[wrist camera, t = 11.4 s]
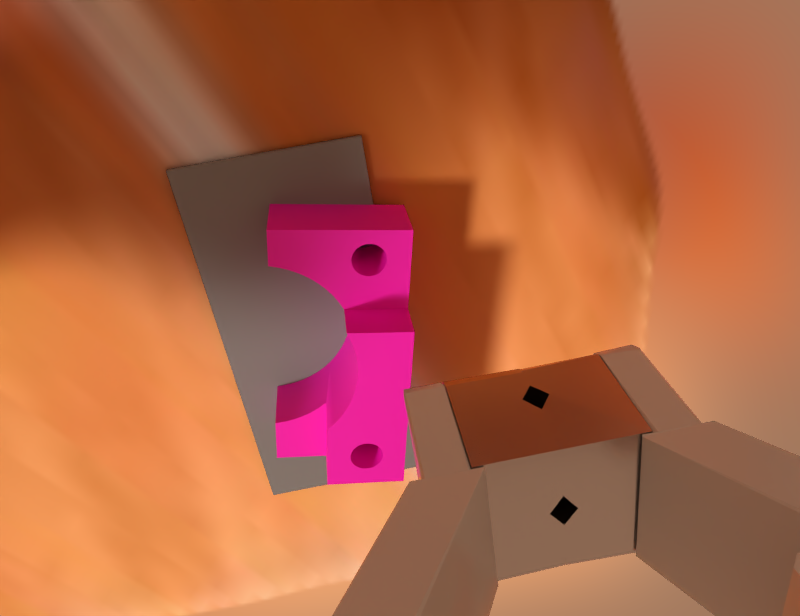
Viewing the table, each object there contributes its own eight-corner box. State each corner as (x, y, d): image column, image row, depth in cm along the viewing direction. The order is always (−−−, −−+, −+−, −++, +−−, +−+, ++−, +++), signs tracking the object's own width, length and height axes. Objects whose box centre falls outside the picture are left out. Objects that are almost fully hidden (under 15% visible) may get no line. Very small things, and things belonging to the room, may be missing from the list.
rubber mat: (273, 491, 47) (273, 494, 47) (167, 169, 35) (166, 171, 35) (418, 463, 48) (418, 466, 48) (361, 134, 36) (361, 136, 36)
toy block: (403, 480, 40) (275, 487, 39) (391, 415, 45) (278, 419, 44) (420, 250, 32) (263, 250, 31) (403, 204, 38) (269, 203, 37)
